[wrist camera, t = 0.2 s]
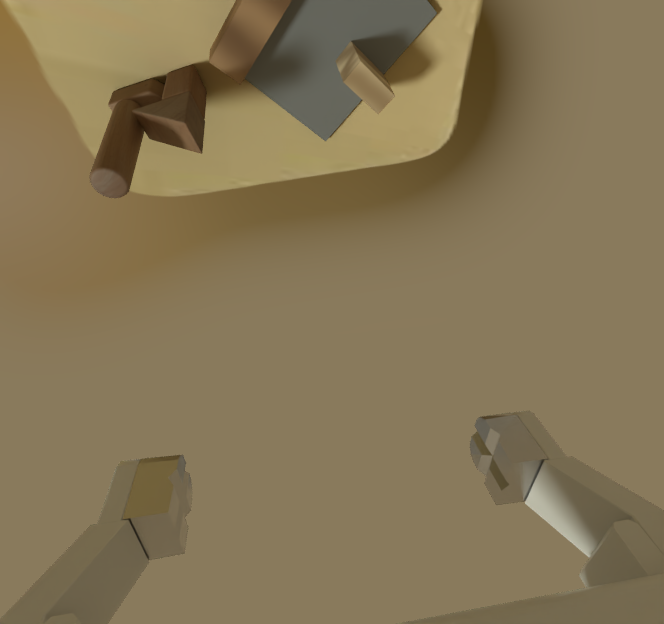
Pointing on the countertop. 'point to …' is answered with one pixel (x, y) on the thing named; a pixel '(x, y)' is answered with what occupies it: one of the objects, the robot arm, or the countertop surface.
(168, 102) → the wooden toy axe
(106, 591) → the robot arm
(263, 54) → the slate mat
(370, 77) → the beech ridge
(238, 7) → the walnut bar
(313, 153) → the countertop surface
